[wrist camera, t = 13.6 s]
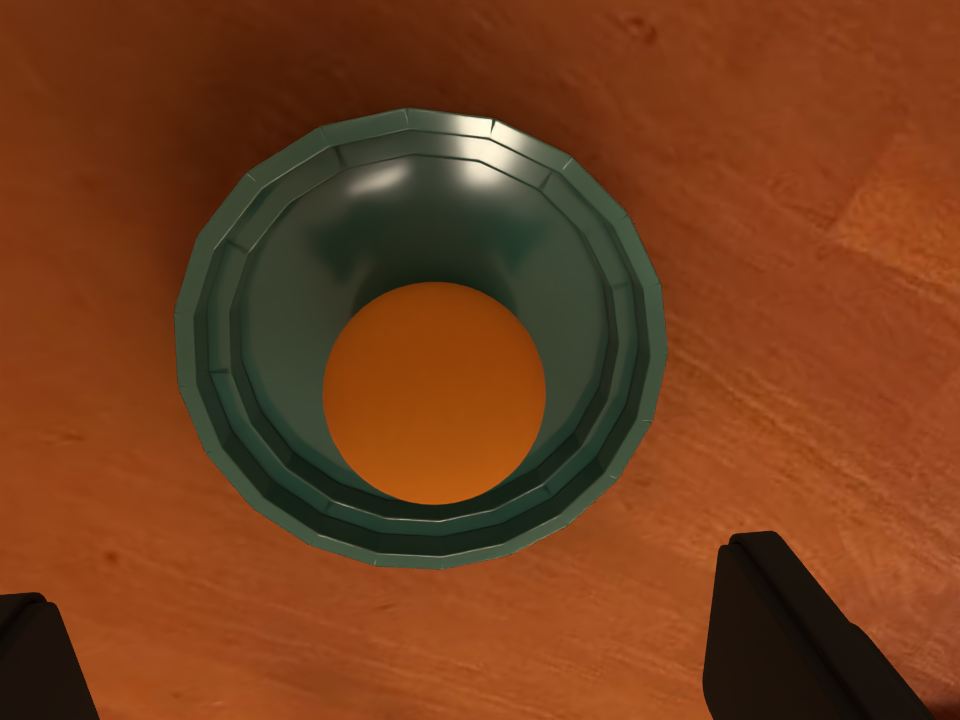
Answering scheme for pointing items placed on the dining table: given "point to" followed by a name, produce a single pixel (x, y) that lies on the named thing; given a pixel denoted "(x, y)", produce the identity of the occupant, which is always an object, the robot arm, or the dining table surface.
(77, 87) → the dining table surface
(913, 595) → the dining table surface
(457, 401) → the orange
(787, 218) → the dining table surface
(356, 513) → the dish
